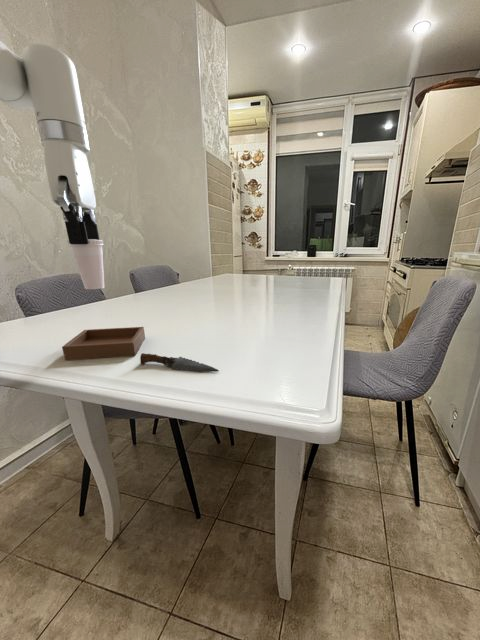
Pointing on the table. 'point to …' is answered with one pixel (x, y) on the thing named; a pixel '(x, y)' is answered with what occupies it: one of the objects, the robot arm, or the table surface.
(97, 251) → the smoothie
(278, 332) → the table surface
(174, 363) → the knife
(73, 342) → the tray
